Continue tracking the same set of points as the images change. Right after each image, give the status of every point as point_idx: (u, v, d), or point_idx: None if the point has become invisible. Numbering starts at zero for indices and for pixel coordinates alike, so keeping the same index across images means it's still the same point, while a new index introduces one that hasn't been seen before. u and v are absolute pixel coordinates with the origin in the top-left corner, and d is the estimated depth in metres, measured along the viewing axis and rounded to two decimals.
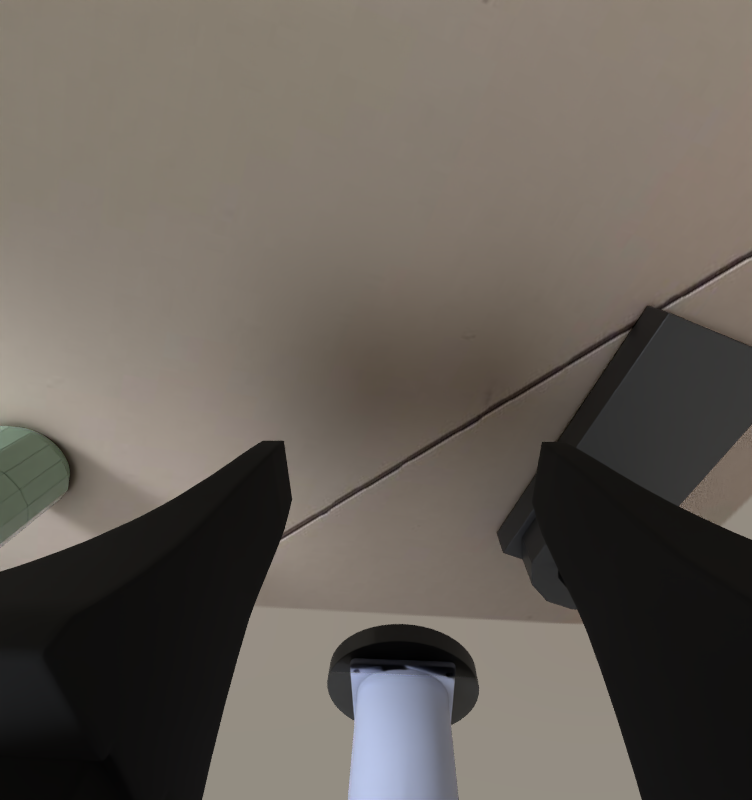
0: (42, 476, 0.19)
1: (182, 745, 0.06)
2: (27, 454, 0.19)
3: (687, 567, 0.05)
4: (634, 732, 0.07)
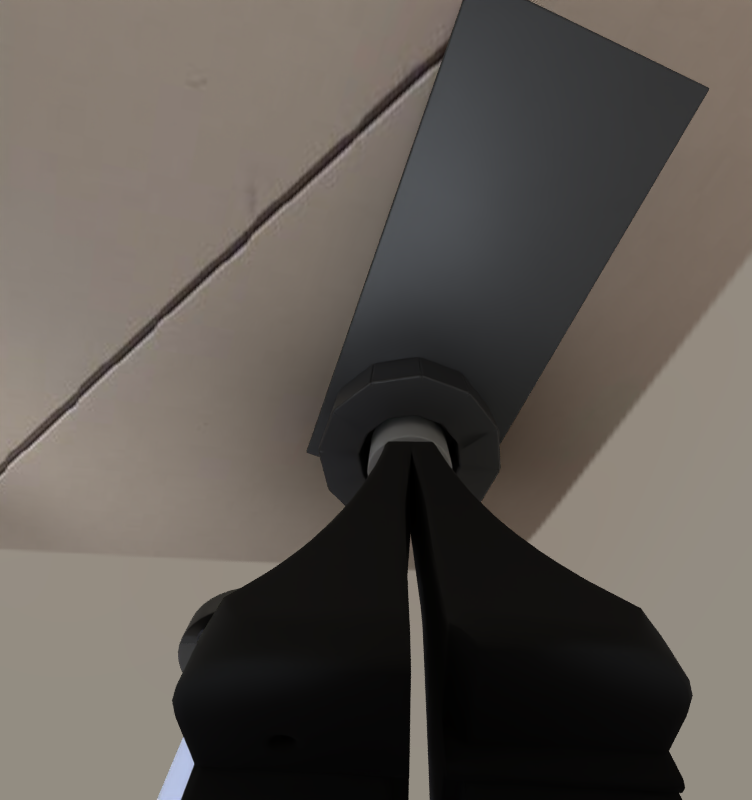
0: None
1: None
2: None
3: (434, 561, 0.06)
4: (428, 722, 0.07)
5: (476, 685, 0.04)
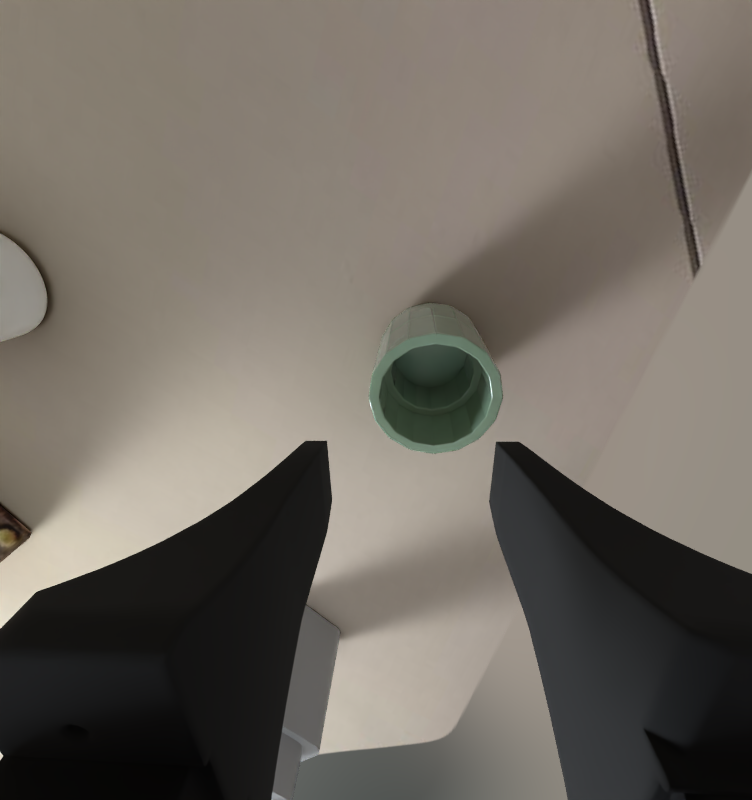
0: (434, 309, 0.17)
1: (258, 749, 0.06)
2: (407, 314, 0.17)
3: (598, 565, 0.06)
4: (562, 729, 0.07)
5: (713, 694, 0.04)
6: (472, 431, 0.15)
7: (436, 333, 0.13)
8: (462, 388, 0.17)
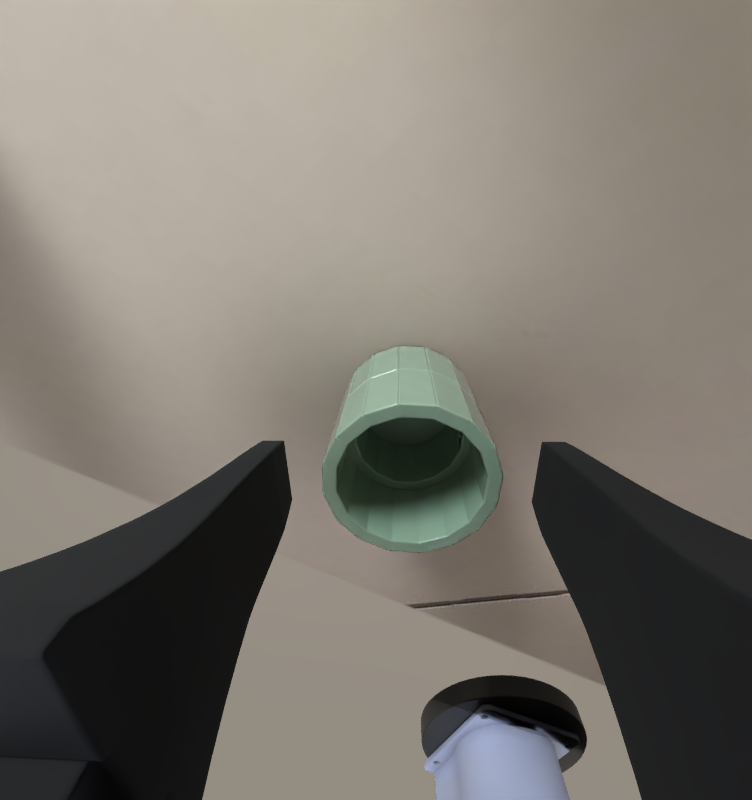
0: None
1: (182, 745, 0.06)
2: None
3: (687, 567, 0.05)
4: (634, 732, 0.07)
5: None
6: (347, 512, 0.11)
7: (495, 504, 0.11)
8: (370, 456, 0.14)
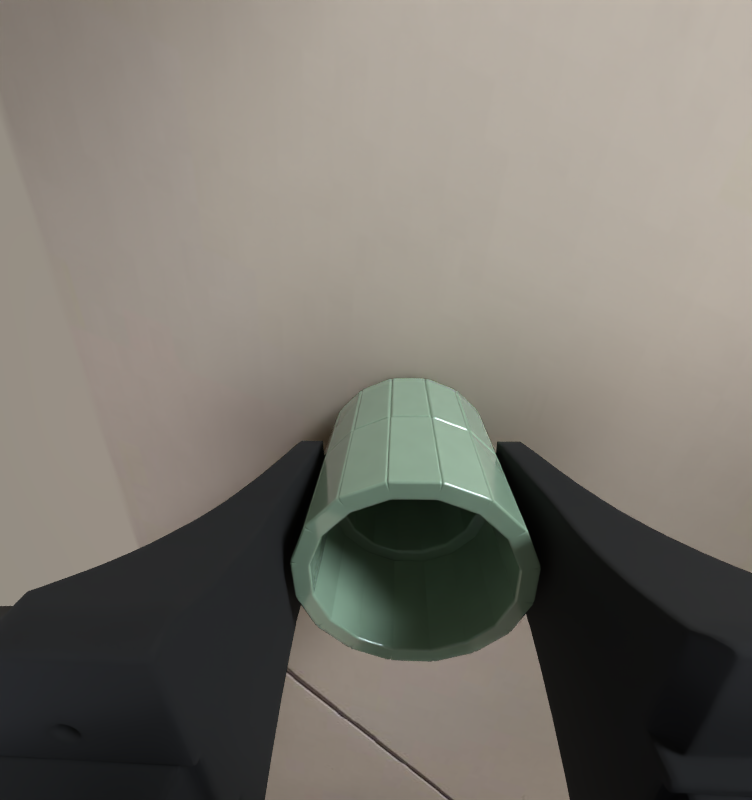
0: None
1: (250, 749, 0.06)
2: None
3: (600, 565, 0.06)
4: (564, 729, 0.07)
5: (718, 694, 0.04)
6: (323, 533, 0.07)
7: (431, 659, 0.09)
8: None
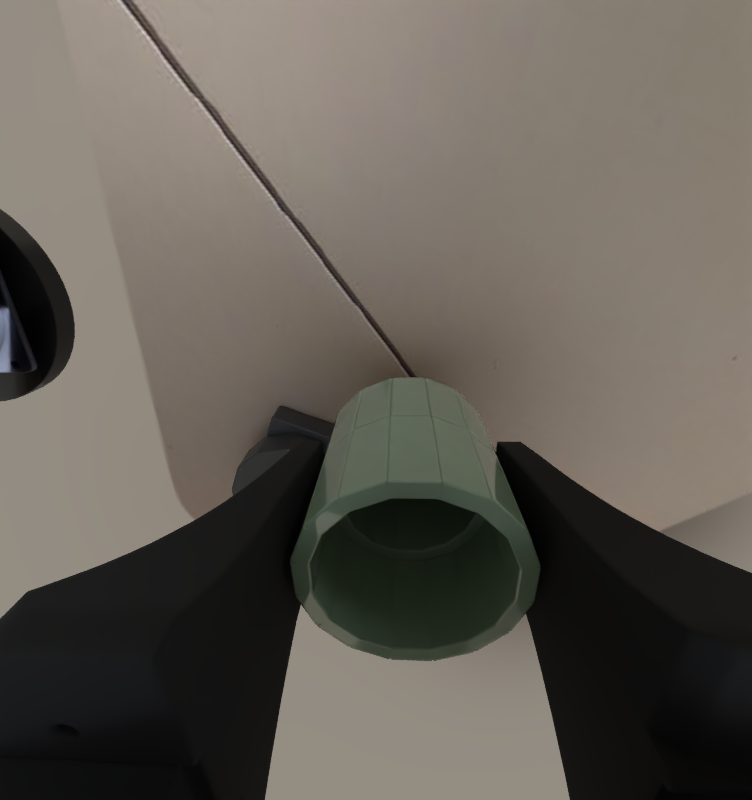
0: None
1: (250, 749, 0.06)
2: None
3: (600, 565, 0.06)
4: (564, 729, 0.07)
5: (717, 694, 0.04)
6: (323, 533, 0.07)
7: (432, 659, 0.09)
8: None
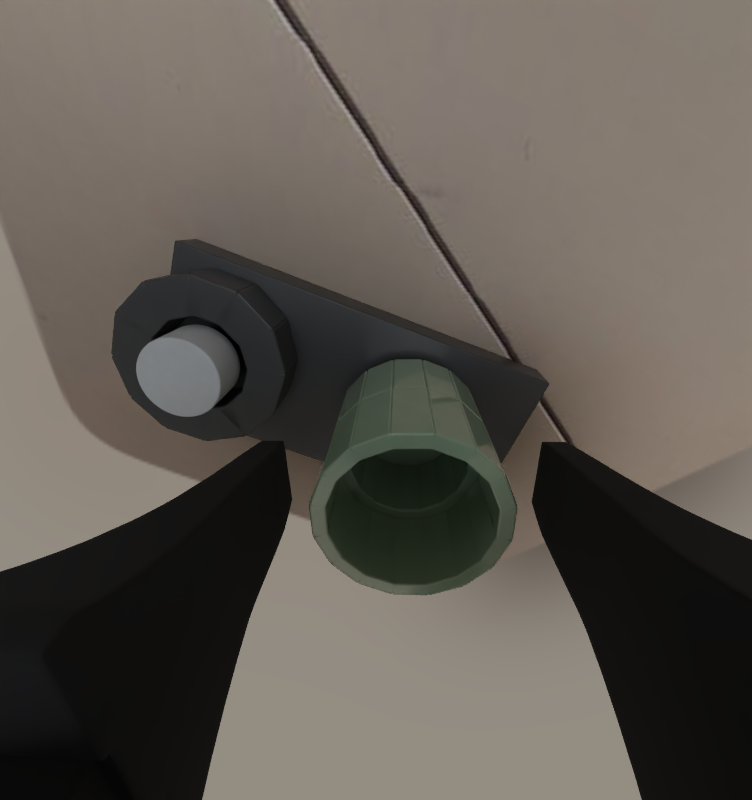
0: None
1: (182, 745, 0.06)
2: None
3: (687, 567, 0.05)
4: (634, 732, 0.07)
5: None
6: (337, 480, 0.09)
7: (427, 593, 0.10)
8: None
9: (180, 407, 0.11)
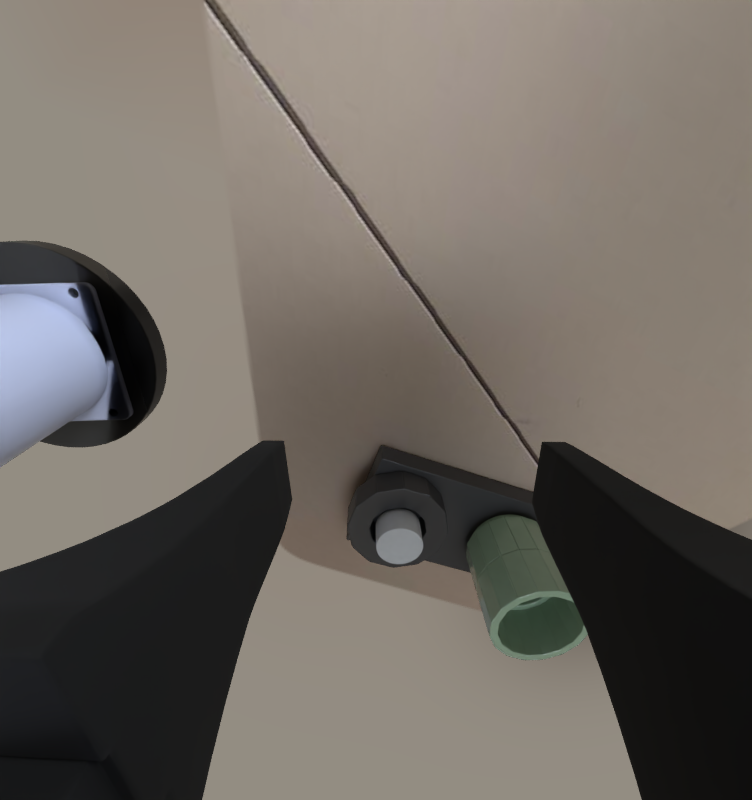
0: None
1: (182, 745, 0.06)
2: None
3: (687, 567, 0.05)
4: (634, 732, 0.07)
5: None
6: (507, 611, 0.18)
7: (543, 658, 0.20)
8: None
9: (396, 560, 0.20)
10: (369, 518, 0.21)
